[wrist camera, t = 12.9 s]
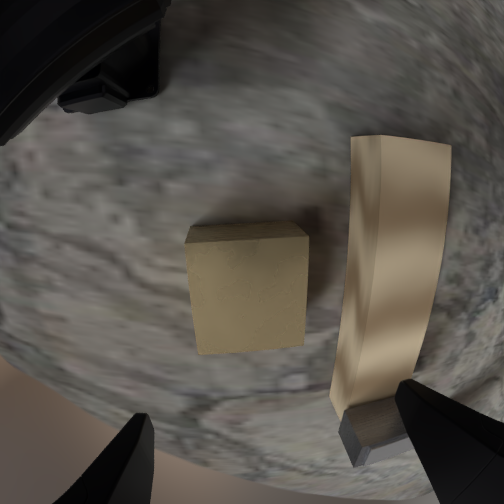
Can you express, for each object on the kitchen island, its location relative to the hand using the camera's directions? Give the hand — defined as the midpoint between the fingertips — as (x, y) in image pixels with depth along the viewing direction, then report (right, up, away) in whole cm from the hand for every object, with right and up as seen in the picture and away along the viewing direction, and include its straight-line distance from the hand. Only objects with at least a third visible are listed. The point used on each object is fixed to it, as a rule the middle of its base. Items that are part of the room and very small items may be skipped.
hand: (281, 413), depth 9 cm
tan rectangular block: (-2, +4, +11) cm, 12 cm away
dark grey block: (+9, -8, +12) cm, 17 cm away
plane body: (+9, +3, +13) cm, 16 cm away
